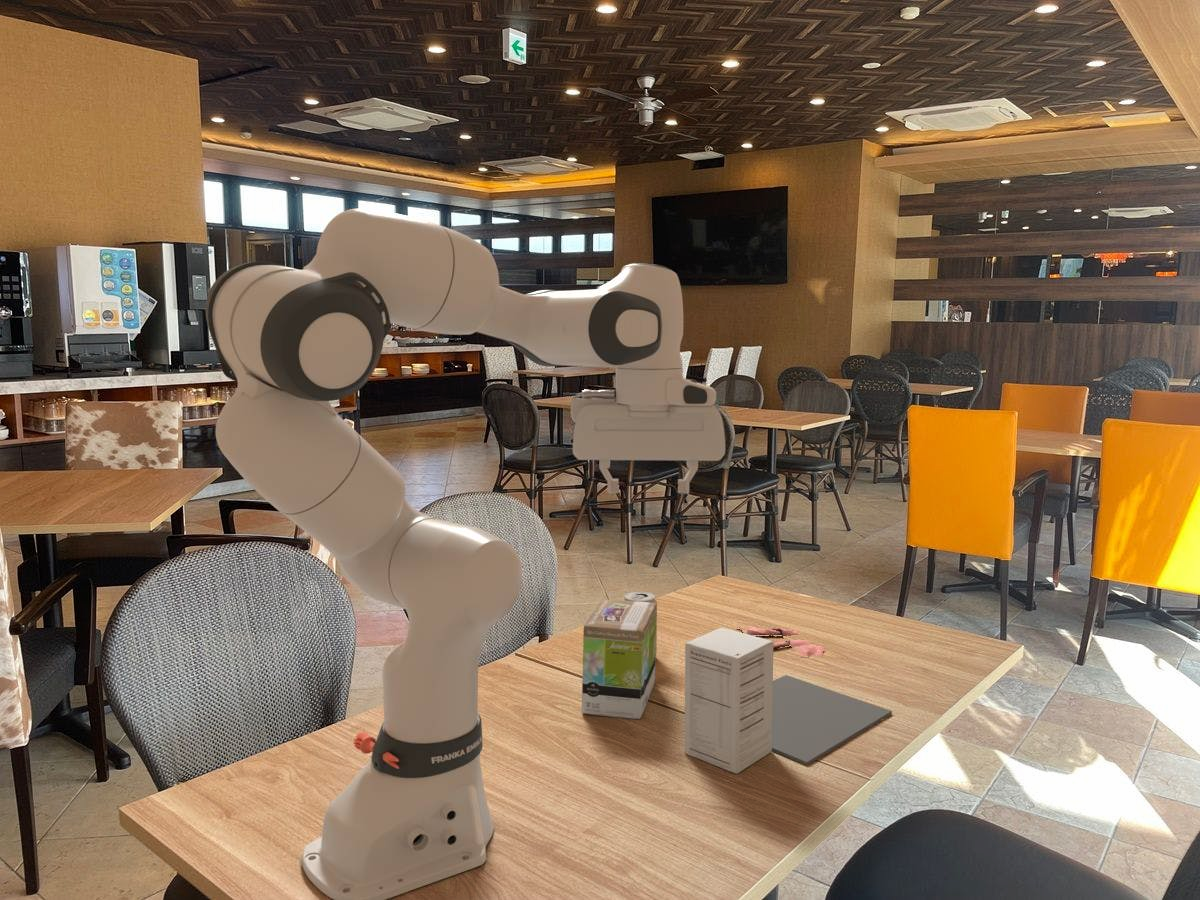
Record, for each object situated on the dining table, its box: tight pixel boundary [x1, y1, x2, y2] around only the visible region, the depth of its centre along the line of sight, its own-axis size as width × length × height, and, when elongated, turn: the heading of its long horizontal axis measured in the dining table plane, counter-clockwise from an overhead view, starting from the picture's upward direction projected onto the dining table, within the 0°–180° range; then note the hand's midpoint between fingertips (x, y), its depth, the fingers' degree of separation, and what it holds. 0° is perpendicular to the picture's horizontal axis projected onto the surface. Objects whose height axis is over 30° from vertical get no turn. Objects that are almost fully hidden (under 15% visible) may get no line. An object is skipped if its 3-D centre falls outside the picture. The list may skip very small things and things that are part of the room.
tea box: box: [581, 598, 658, 720], centre depth 146 cm, size 15×10×15 cm
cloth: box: [738, 625, 825, 657], centre depth 174 cm, size 20×22×2 cm
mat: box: [772, 674, 893, 766], centre depth 140 cm, size 24×20×1 cm
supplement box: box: [684, 627, 774, 775], centre depth 127 cm, size 10×9×17 cm
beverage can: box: [623, 591, 658, 655], centre depth 164 cm, size 6×6×12 cm
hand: (648, 493), depth 119 cm, fingers open, 8 cm apart
